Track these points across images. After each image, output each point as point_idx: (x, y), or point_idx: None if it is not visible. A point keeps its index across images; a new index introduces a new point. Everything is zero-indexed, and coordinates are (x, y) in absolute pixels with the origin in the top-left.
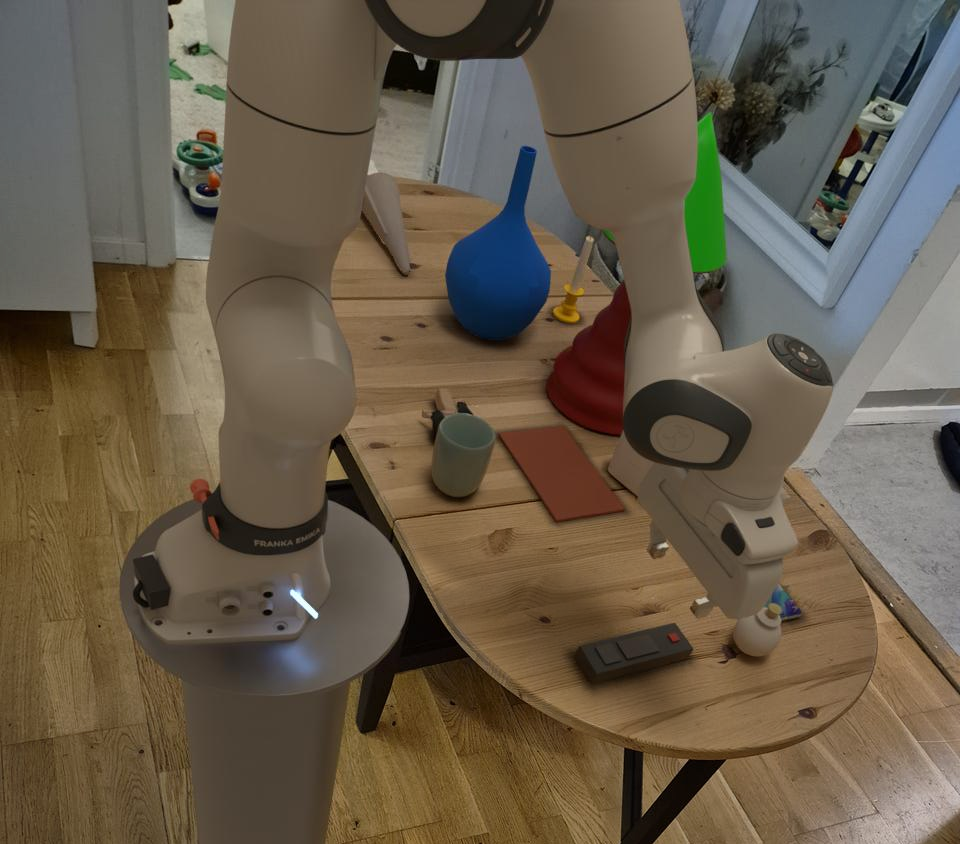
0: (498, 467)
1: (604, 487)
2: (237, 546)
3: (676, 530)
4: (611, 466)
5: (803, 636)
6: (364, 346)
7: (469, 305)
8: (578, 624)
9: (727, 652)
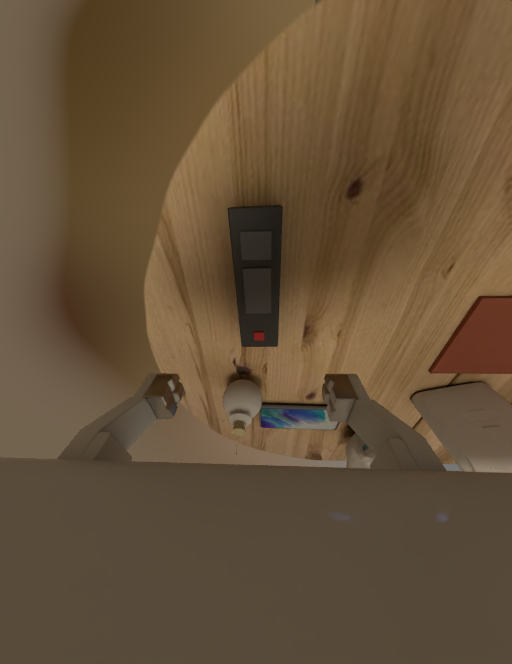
0: None
1: (469, 369)
2: None
3: (322, 582)
4: (488, 388)
5: None
6: None
7: None
8: (325, 241)
9: (243, 369)
